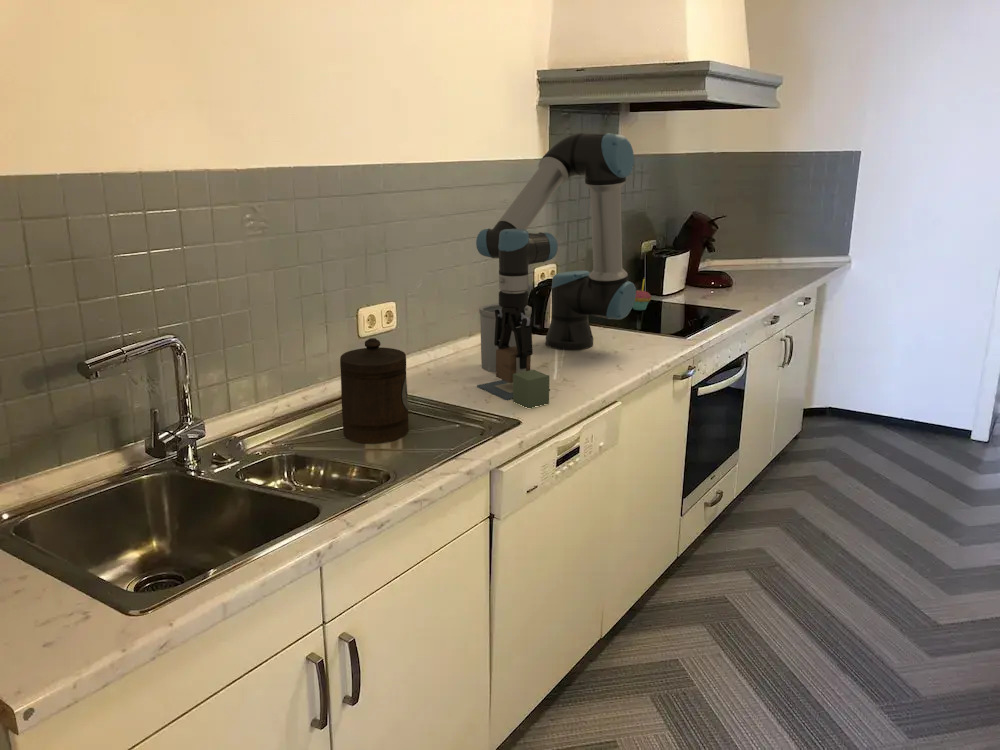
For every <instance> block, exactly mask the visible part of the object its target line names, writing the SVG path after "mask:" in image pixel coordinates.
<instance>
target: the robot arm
mask: <svg viewBox="0 0 1000 750" xmlns="http://www.w3.org/2000/svg"><path fill="white" fill-rule="evenodd" d="M634 164H635V155H634V150H633V146H632V144H631V142H630V140H628V138H627V137H626V136H625V135H622V134H618V133H617V134H616V133H611V132H610V133H609V132H608V133H605V132H604V133H602V132H601V133H575V134H570V135H568V136H565V138H562V139H561V140H559V141H558V142H557V143H556V144H554V145H553V146H552V147H551V148H550V149H548V150H547V151H546V153H545V154H544V155H543V156H542V157H541V159H540V160H539V163H538V168H537V169H536V171H535V173H534V174H533V175H532V176H531V178H529V181H528V182H527V183H526V184H525V186H524V187H523V188H522V190H521V191H520V193H518V195H517V196H516V198H514V200H513V202H511V204H510V205H509V207H508V208H507V209H506V210H505V212H504V213H503V215H502V216H501V218H499V220H498V221H497V223H496V224H495V225H494V227H493V228H484V229H481V230H480V232H479V233H478V234H477V237H476V240H475V247H476V249H477V251H478V253H479V254H480V256H483V257H487V258H492V259H498V263H499V264H498V265H499V266H498V267H499V268H498V269H499V270H498V289H499V290H500V291H499V292H498V303H499V305H500V306H501V307H502V309H498V310H495V317H496V322H495V341H494V344H495V346H498V349H503V348H508V347H510V346H509V341H510V337H511V332H512V331H513V332H514V336H515V341H516V346H517V352H518V355H517V356H516V373H520V372H525V371H526V368H527V356H529V355H531V356H532V355H533V354H534V353H533V335H532V334H533V331H532V330H533V329H532V325H533V321H534V320H533V317H529V318H528V317H527V316H525V311H524V308H525V307H526V306H529V305H528V304H529V292H528V289H529V265H533V264H540V263H545V262H547V261H548V262H549V261H551V260H552V259H554V258H555V257H556V255H557V253H558V250H559V249H558V247H559V246H558V241H557V239H556V237H555V236H554V235H553V234H552V233H550V232H538V233H535V232H534V233H533V232H529V231H528V230H527V229H528V228H529V226H530V225H531V224H532V222H534V220H535V218H536V217H538V214H539V213H540V212H541V210H542V209H543V208H544V206H545V205H546V203H547V202H548V201H549V199H550V198H551V197H552V195H553V194H555V191H556V190H557V188H558V187H560V185H564V184H565V183H566V182H567V181H568V180H569V179H570V178H571V177H575V176H584V184H585V186H586V187H588V189H589V190H590V206H591V207H590V208H591V209H590V210H591V212H590V213H591V237H592V240H591V241H592V264H593V265H592V266H593V268H592V271H591V272H590V271H588V270H574V271H573V270H572V271H571V270H570V271H564V272H559V273H555V275H554V276H553V277H552V282H551V287H550V288H551V319H550V320H551V321H550V323H549V327H548V329H547V330H548V331H547V333H546V336H545V345H546V346H547V347H549V348H553V349H556V350H565V351H567V350H568V351H574V350H577V351H578V350H585V349H590V348H591V347H593V345H594V335H593V333H592V328H591V325H590V322H589V316H591V317H598V318H604V319H608V320H623V319H625V318H626V317H627V316H628V315H629V314H630V313H631V310H632V309H633V305H634V302H635V297H636V291H637V289H636V286H635V284H634V283H633V282H631V281H629V280H628V277H629V276H628V272H627V271H626V270H625V269H624V268H623V243H622V242H623V241H622V240H623V238H622V237H623V236H622V233H623V232H622V193H621V192H622V191H621V190H622V189H621V188H622V187H623V186H624V185H625V184H626V182H627V177H629V176H630V175H631V174H632V171H633V167H634V166H635V165H634ZM520 326H521V327H520ZM516 327H518V328H516ZM498 340H500V341H498Z"/></svg>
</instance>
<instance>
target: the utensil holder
mask: <svg viewBox="0 0 1000 750" xmlns="http://www.w3.org/2000/svg"><path fill="white" fill-rule="evenodd" d="M498 309H502V307H501V306H500V305H499V302H493V303H487V304H483V305H481V306H479V308H478V312H479V313H478V314H479V315H480V359H481V360H480V361H481V368H482V369H483V370H485V371H487V372H492V373H496V350H497V349H498V346H495V344H494V341H495V322H496V317H495V310H498ZM524 311H525V316H527V317H528V318H529V317H531V315H532V306H529V305H527V306H526V307H525V308H524ZM520 327H521V326H520ZM516 328H518V327H516ZM498 341H500V340H498ZM509 346H510V347H514V346H516V341H515V336H514V332H513V331H512V332H511V337H510V341H509Z"/></svg>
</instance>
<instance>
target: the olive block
mask: <svg viewBox="0 0 1000 750" xmlns="http://www.w3.org/2000/svg"><path fill="white" fill-rule="evenodd" d="M549 389H550V375H548V374H546V373H543V372H541V371H539V370H536V369H531V370H529V371H525V372H520V373H515V374H513V399H512V402H513V403H514V402H515V403H514V404H516V403H517V405H518V404H520V405H522V406H521V407H523V406H524V407H523V408H525V407H527V408H531V409H533V408H532V407H535V406H539V407H541V406H540V405H543V406H545V405H544V404H548V405H549V404H550V391H549ZM520 405H519V406H520ZM527 408H526V409H527ZM535 408H536V407H535Z"/></svg>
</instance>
